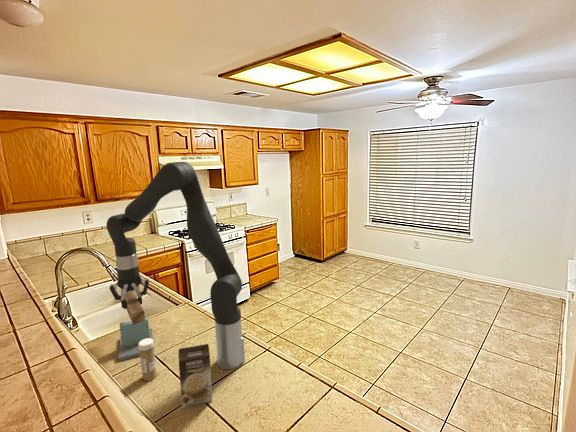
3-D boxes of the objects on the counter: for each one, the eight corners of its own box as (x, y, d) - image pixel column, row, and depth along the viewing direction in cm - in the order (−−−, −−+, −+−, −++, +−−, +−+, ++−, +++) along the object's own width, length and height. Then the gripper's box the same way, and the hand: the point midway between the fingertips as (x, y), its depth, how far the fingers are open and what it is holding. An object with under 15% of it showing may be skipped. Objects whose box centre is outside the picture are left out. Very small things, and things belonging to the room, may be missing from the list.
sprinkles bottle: (158, 378, 102) (154, 342, 99) (143, 383, 99) (139, 347, 97) (155, 370, 106) (151, 336, 103) (141, 375, 103) (137, 340, 101)
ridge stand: (152, 331, 130) (149, 309, 128) (154, 352, 116) (151, 327, 114) (121, 338, 125) (118, 315, 123) (118, 361, 110) (115, 335, 108)
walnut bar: (132, 295, 129) (131, 287, 128) (145, 320, 108) (144, 310, 107) (121, 298, 126) (120, 289, 126) (133, 324, 106) (131, 314, 105)
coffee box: (181, 409, 89) (177, 361, 86) (181, 394, 95) (177, 348, 92) (213, 401, 92) (209, 354, 89) (211, 386, 98) (208, 342, 95)
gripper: (104, 271, 107) (110, 315, 111) (148, 265, 114) (152, 306, 117) (106, 265, 114) (112, 306, 117) (147, 259, 120) (151, 299, 123)
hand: (132, 306), depth 117 cm, fingers closed on walnut bar, 4 cm apart
